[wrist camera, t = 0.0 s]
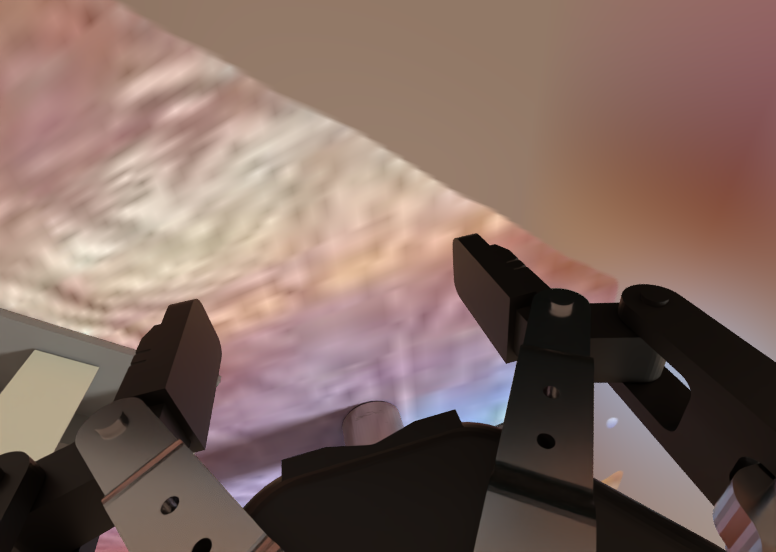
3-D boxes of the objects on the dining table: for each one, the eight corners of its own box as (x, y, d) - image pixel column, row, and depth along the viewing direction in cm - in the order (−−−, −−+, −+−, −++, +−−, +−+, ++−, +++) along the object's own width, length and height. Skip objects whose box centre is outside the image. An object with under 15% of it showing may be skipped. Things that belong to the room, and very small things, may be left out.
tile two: (34, 349, 41) (-63, 474, 29) (99, 367, 43) (34, 487, 32) (21, 378, 42) (-77, 508, 30) (85, 393, 45) (17, 518, 33)
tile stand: (-116, 272, 35) (-169, 304, 31) (221, 376, 50) (215, 407, 46) (-144, 370, 39) (-194, 410, 35) (177, 439, 54) (168, 473, 49)
